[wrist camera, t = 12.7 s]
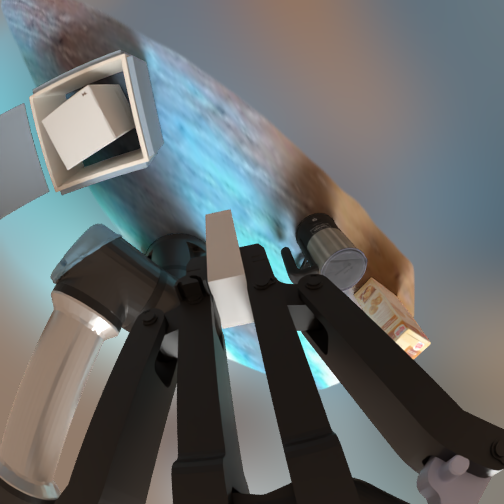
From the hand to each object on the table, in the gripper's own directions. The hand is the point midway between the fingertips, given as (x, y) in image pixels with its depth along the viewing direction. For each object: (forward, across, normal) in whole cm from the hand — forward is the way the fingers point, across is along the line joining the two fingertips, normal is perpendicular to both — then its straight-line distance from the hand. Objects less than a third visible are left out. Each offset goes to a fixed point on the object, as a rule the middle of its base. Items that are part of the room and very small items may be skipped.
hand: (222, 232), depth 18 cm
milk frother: (+37, +17, -27) cm, 49 cm away
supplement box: (+37, -17, +9) cm, 41 cm away
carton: (+36, -17, +9) cm, 41 cm away
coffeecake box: (+37, +35, -47) cm, 69 cm away
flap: (+24, -26, +9) cm, 37 cm away
